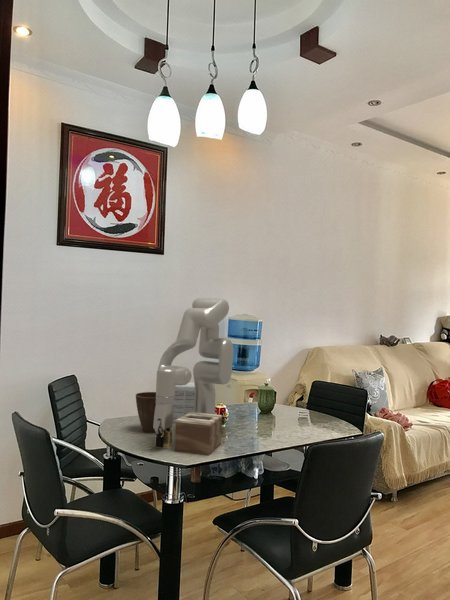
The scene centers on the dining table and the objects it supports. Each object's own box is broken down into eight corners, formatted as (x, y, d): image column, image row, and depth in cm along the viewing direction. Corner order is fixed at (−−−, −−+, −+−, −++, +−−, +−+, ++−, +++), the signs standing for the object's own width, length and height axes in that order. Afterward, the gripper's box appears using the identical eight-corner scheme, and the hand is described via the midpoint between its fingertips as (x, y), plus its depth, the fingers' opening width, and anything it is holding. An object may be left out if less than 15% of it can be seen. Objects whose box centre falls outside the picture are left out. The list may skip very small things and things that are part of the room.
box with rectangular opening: (188, 440, 214) (189, 411, 214) (220, 444, 210) (221, 415, 210) (174, 450, 198) (175, 419, 199) (209, 455, 195) (210, 423, 195)
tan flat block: (157, 445, 205) (158, 429, 205) (171, 447, 203) (172, 430, 203) (155, 447, 203) (155, 430, 203) (169, 448, 201) (169, 432, 201)
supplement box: (171, 416, 258) (172, 381, 258) (197, 417, 259) (198, 382, 259) (169, 422, 245) (171, 386, 245) (197, 423, 245) (198, 386, 245)
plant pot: (127, 431, 225) (128, 395, 225) (147, 424, 238) (148, 390, 238) (155, 436, 218) (156, 399, 218) (174, 429, 231) (175, 394, 231)
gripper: (164, 395, 212) (163, 438, 212) (147, 402, 196) (145, 449, 196) (181, 396, 210) (179, 440, 210) (165, 404, 194) (163, 451, 194)
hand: (163, 444), depth 203 cm, fingers open, 6 cm apart
